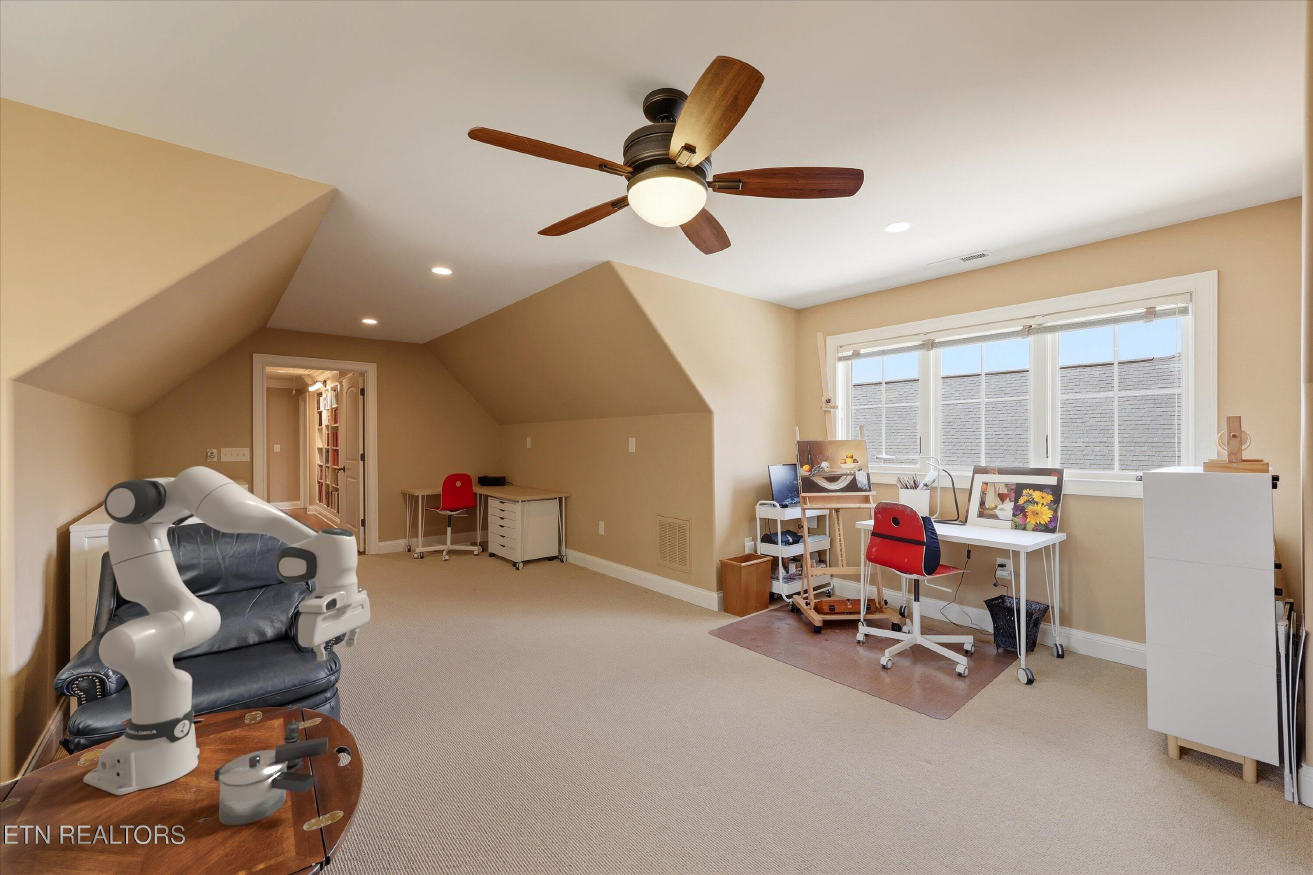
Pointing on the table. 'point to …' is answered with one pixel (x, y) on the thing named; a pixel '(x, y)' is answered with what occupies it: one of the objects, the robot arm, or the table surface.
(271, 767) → the lid
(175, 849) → the table surface
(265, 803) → the pot
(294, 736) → the grey round vessel
